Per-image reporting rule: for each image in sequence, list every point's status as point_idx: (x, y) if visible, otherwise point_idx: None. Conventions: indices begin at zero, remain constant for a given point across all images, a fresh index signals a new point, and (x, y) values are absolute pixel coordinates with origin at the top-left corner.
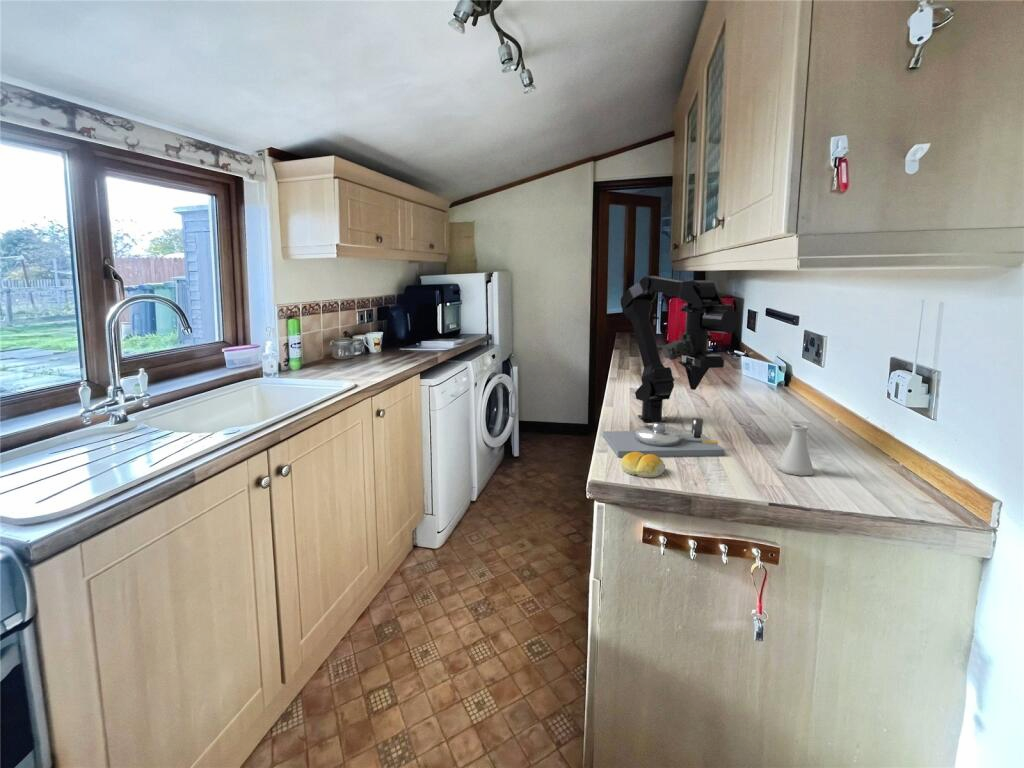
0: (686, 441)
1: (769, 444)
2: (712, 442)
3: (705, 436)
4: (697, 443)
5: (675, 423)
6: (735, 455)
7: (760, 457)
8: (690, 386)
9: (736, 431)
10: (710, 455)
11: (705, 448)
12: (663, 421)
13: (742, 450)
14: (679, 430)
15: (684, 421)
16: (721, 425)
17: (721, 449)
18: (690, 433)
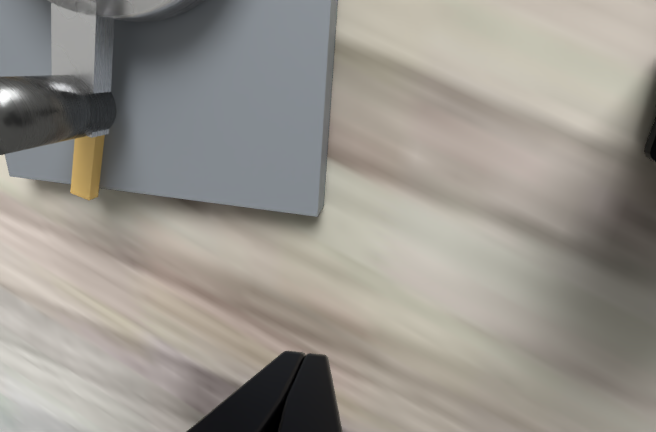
0: None
1: (185, 408)
2: (77, 168)
3: (197, 197)
4: None
5: (595, 210)
6: (47, 217)
7: (39, 290)
8: (305, 372)
9: (364, 409)
10: None
11: None
12: (650, 140)
13: (110, 278)
14: (111, 12)
15: (619, 285)
16: (474, 411)
17: (7, 163)
18: (54, 59)
